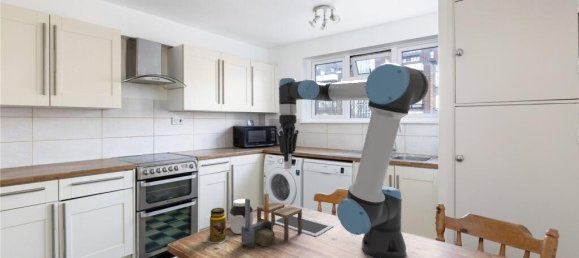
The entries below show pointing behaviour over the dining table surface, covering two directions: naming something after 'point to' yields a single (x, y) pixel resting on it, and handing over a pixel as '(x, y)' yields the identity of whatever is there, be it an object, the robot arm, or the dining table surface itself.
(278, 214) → the brown wooden table
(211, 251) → the dining table surface
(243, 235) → the slider frame
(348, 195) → the robot arm
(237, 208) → the spread jar
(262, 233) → the stone block
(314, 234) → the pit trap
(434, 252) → the dining table surface
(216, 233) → the condiment
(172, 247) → the dining table surface
